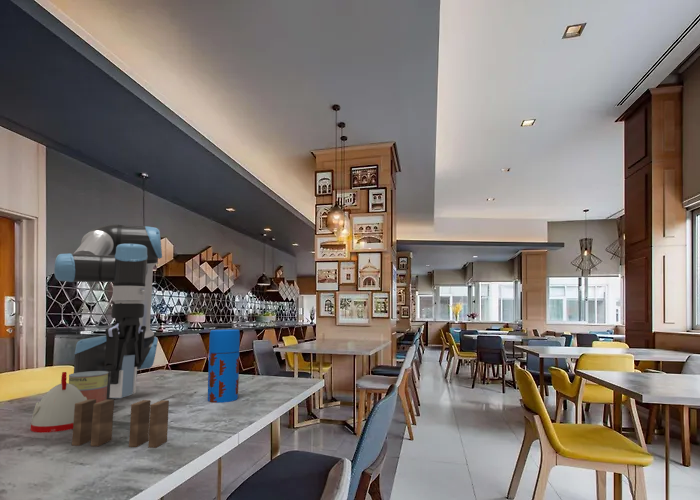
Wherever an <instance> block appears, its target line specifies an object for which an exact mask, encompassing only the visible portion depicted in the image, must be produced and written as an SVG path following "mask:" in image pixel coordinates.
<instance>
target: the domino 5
mask: <svg viewBox="0 0 700 500" xmlns="http://www.w3.org/2000/svg"><path fill="white" fill-rule="evenodd" d="M169 404H170V401H169V400H165V399H163V400H159V401H157V402H154V403H152V404H151V403H150V419H149V439H148V441H147V442H148V446H147V448H149V449H157V448H158V447H160V446H161V445H163V444H165V443H166V442H168V427H169V425H168V424H169V407H170V405H169Z"/></svg>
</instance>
